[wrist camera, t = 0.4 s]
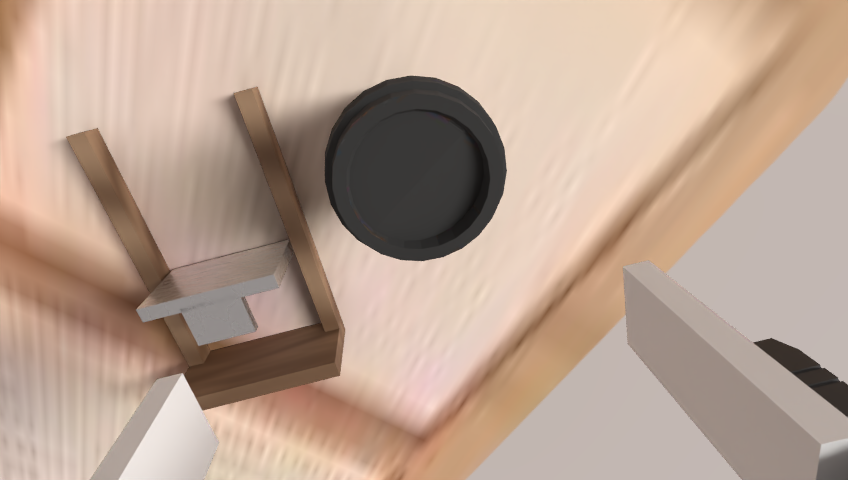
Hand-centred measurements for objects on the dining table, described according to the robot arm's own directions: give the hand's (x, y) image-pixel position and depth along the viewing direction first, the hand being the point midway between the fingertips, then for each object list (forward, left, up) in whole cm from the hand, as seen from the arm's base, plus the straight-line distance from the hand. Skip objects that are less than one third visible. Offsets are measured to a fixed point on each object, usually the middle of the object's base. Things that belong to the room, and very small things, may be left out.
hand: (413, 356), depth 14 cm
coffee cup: (-3, +2, -23) cm, 23 cm away
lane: (+2, -13, -23) cm, 27 cm away
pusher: (+5, -13, -23) cm, 27 cm away
